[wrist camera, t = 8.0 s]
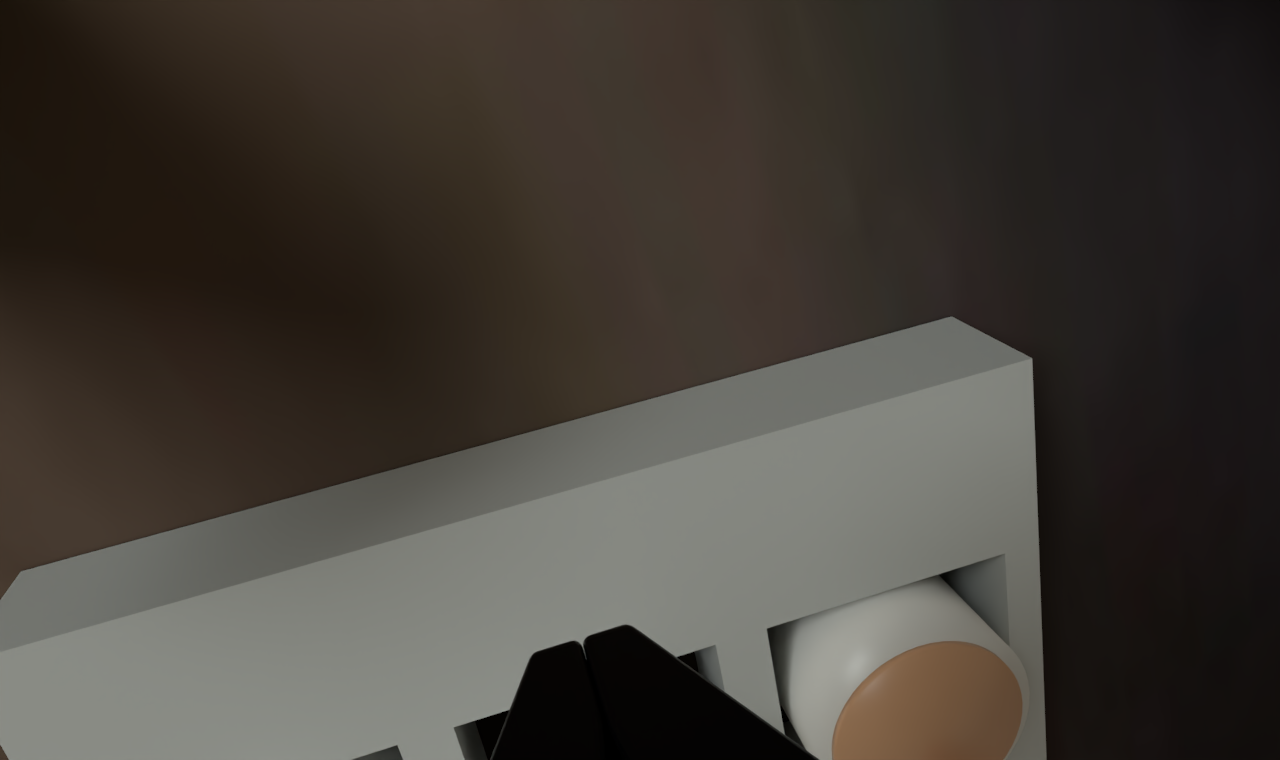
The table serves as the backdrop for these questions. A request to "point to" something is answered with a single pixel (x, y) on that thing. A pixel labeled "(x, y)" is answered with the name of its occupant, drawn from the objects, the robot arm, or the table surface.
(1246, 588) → the table surface
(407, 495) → the board
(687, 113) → the table surface
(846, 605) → the button
